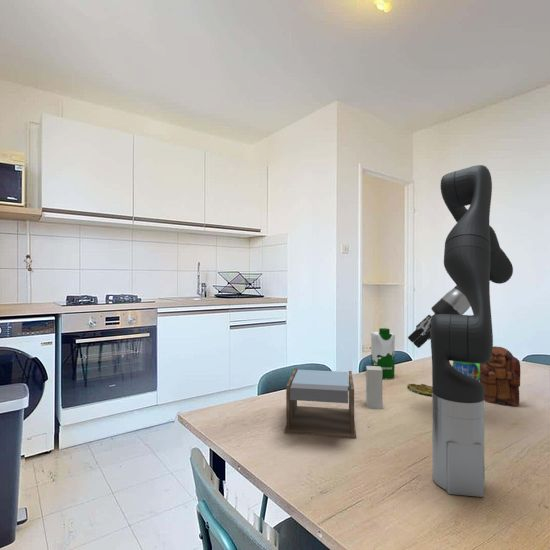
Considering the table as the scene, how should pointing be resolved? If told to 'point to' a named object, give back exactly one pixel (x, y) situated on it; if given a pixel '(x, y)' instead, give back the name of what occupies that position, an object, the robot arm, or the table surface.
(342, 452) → the table surface
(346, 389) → the trapdoor
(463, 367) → the green blue printed box
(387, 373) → the milk carton
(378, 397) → the grey stone pillar
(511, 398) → the wooden figurine
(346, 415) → the trapdoor stand
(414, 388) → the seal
